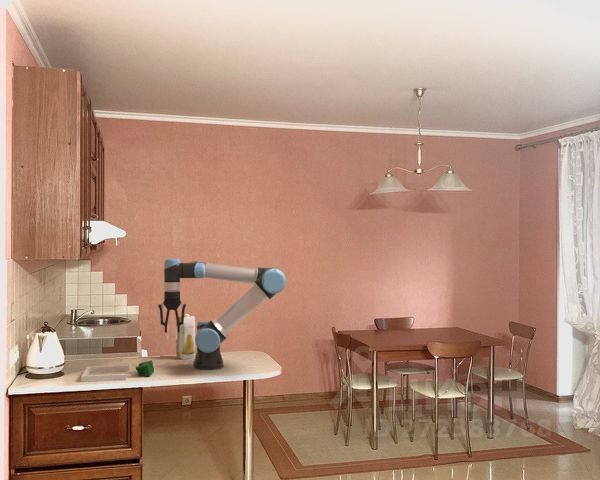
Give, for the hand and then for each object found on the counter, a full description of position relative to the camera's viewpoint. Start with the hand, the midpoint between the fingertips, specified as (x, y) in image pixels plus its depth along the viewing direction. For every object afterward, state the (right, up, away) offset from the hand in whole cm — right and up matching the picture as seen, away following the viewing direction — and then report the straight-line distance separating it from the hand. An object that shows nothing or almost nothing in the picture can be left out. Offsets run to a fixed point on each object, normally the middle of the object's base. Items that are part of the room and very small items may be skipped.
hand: (172, 339), depth 299 cm
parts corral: (-30, -17, -5) cm, 34 cm away
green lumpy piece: (-13, -17, -2) cm, 21 cm away
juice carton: (0, -16, +37) cm, 40 cm away
